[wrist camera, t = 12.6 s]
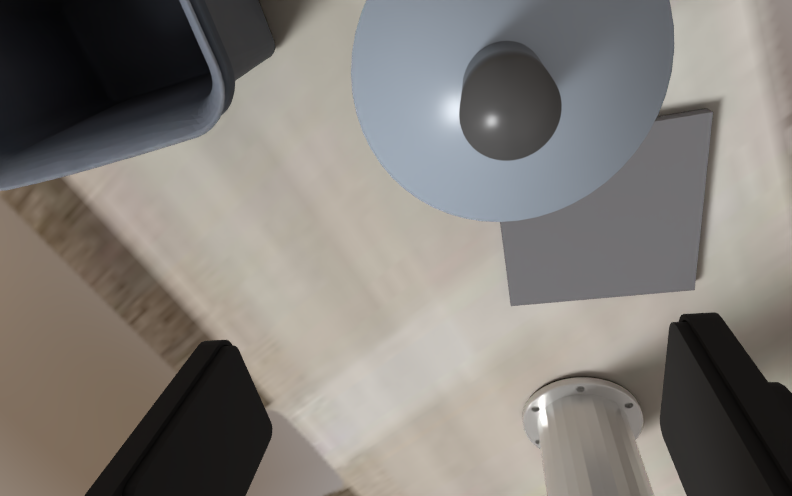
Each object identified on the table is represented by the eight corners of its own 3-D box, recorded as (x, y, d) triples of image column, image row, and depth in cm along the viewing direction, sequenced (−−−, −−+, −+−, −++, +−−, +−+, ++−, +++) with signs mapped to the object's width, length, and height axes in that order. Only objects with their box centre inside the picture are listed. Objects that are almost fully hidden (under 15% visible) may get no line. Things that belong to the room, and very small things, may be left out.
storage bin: (110, 138, 44) (-31, 204, 32) (-2, -51, 37) (-239, -60, 24) (318, 75, 38) (244, 125, 26) (232, -163, 31) (77, -247, 19)
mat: (690, 283, 43) (694, 290, 42) (510, 299, 46) (510, 306, 46) (707, 108, 35) (712, 112, 34) (490, 144, 39) (491, 148, 38)
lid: (659, 192, 24) (709, 254, 19) (392, 229, 27) (373, 290, 22) (674, -157, 17) (758, -210, 12) (318, -52, 20) (266, -58, 15)
